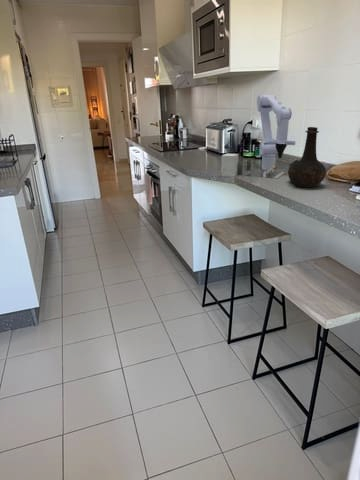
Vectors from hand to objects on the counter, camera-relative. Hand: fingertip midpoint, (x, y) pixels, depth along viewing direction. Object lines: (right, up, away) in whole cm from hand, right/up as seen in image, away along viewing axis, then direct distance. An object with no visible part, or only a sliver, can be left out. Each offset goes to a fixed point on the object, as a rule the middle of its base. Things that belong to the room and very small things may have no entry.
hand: (280, 158), depth 189 cm
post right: (-15, -5, +15) cm, 22 cm away
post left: (-22, -10, +4) cm, 24 cm away
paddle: (-7, -8, +3) cm, 11 cm away
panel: (-7, -10, +3) cm, 12 cm away
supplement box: (-28, -10, +4) cm, 30 cm away
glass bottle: (+7, -18, -18) cm, 27 cm away
